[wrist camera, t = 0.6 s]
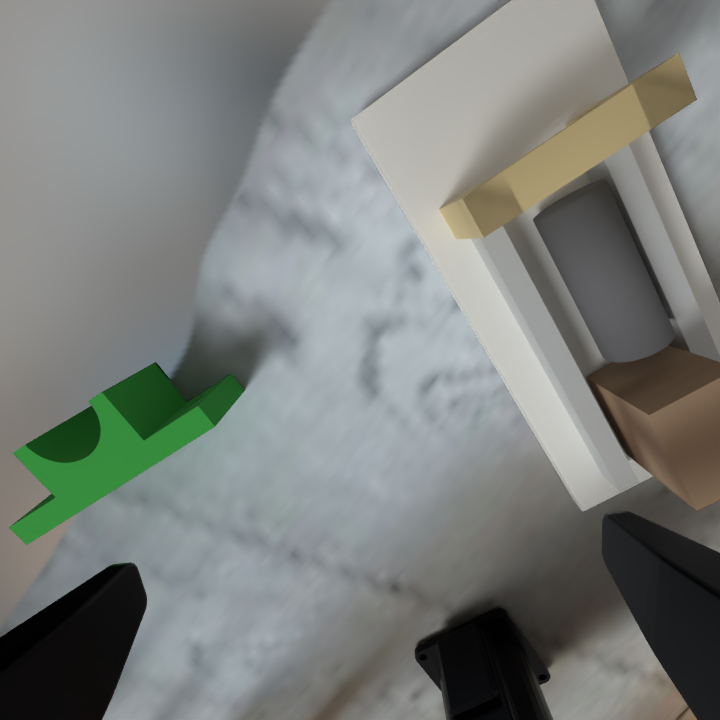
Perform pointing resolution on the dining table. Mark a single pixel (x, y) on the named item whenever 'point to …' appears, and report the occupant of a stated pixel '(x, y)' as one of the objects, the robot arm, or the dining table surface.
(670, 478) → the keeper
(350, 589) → the dining table surface
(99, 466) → the pipe clamp
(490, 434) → the dining table surface
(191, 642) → the dining table surface
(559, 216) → the rod
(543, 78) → the channel board
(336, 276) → the dining table surface
